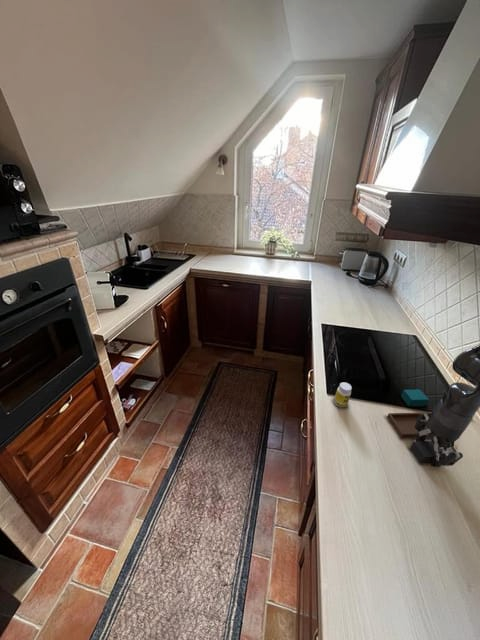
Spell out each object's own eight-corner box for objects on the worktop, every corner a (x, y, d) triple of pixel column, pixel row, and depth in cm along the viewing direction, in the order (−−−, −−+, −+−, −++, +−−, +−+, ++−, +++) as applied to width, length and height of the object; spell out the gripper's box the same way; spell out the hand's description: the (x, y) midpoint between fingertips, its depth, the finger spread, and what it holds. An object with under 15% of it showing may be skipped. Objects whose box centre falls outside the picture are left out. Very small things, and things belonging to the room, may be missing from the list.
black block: (429, 447, 79) (434, 440, 78) (441, 463, 75) (446, 456, 73) (409, 448, 79) (413, 441, 77) (420, 464, 75) (424, 457, 73)
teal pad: (416, 395, 98) (420, 389, 96) (425, 406, 94) (429, 399, 92) (400, 396, 98) (403, 389, 96) (408, 406, 93) (412, 399, 92)
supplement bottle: (342, 409, 91) (348, 393, 87) (331, 401, 95) (336, 385, 90) (349, 403, 94) (355, 386, 90) (338, 395, 97) (343, 379, 93)
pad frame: (430, 416, 90) (433, 412, 89) (448, 436, 83) (451, 432, 82) (386, 417, 89) (388, 413, 88) (400, 438, 82) (402, 434, 81)
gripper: (486, 441, 62) (455, 478, 71) (443, 396, 75) (421, 433, 83) (457, 442, 62) (430, 479, 70) (419, 397, 74) (399, 433, 83)
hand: (425, 454), depth 77 cm, fingers open, 6 cm apart
